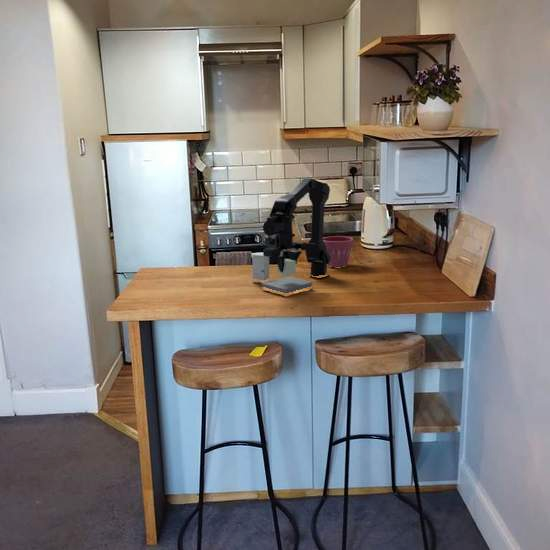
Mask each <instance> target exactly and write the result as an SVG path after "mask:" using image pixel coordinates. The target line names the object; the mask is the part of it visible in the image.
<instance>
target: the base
mask: <svg viewBox="0 0 550 550" xmlns="http://www.w3.org/2000/svg"><path fill="white" fill-rule="evenodd" d="M311 286H312V287H313V282H312V281H310V280H304V279H300V278H297V277H292V276H290V275H287V276H284V277H280V278H277V279H273V280H269V281H268V282H265V283H262V284H261V288H262V287H266V288H269V289H272V290H276V291H280V292H283V293H289V292H293V291H296V290H300V289H303V288H307V287H311Z"/></svg>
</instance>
